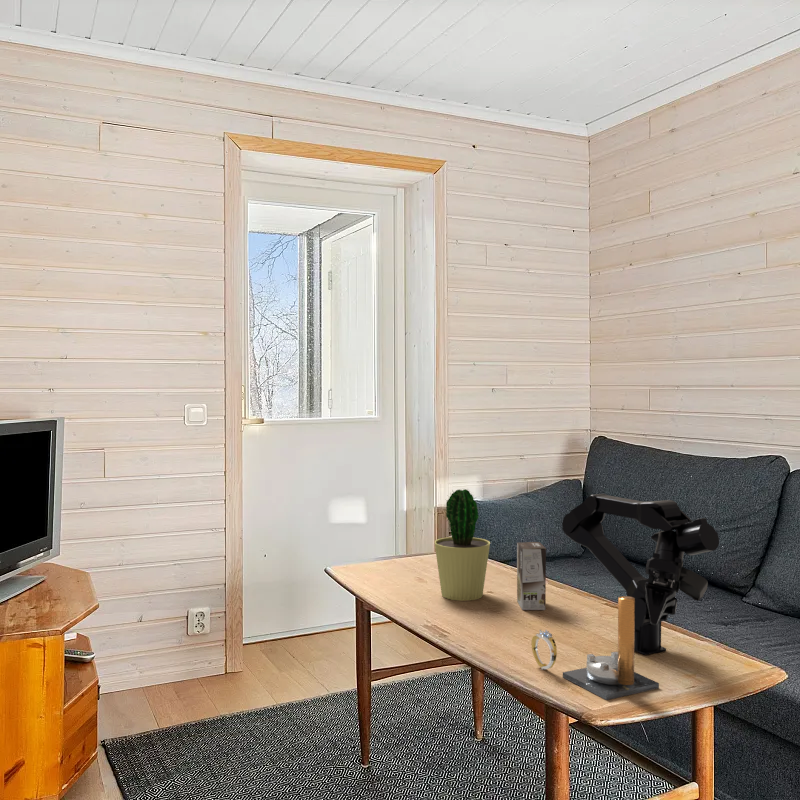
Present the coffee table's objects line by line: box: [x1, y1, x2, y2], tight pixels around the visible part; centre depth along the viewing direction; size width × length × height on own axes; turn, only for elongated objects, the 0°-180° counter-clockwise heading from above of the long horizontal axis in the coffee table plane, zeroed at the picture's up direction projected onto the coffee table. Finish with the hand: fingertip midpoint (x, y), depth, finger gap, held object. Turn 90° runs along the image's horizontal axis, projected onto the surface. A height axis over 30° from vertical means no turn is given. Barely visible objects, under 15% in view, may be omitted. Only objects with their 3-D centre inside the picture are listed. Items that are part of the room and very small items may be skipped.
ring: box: [530, 629, 558, 671], centre depth 168 cm, size 7×3×8 cm, turn 22°
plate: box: [562, 667, 660, 701], centre depth 161 cm, size 13×13×1 cm
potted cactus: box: [434, 488, 491, 602], centre depth 225 cm, size 15×15×30 cm
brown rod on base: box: [586, 595, 635, 685], centre depth 159 cm, size 12×9×17 cm
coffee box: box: [516, 541, 547, 611], centre depth 215 cm, size 9×6×16 cm
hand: (653, 624), depth 164 cm, fingers closed
